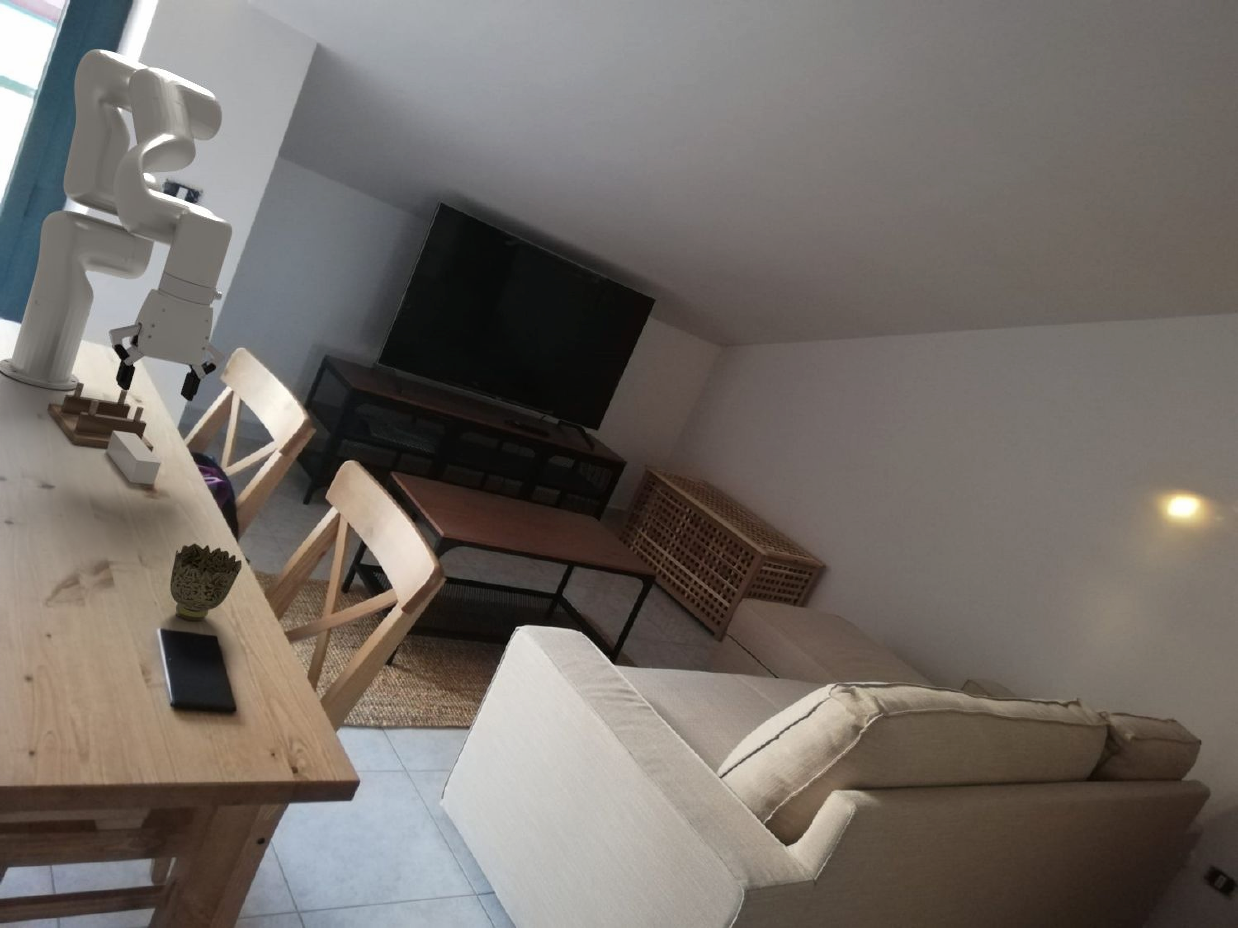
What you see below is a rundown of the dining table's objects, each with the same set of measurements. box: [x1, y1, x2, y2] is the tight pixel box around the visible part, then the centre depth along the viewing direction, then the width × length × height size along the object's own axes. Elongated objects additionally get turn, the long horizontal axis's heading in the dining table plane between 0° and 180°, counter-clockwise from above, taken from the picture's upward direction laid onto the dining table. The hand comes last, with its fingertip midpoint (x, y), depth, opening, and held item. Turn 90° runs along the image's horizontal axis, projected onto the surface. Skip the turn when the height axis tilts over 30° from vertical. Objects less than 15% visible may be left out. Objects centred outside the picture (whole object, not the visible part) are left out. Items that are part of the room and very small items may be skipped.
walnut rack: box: [47, 381, 154, 453], centre depth 147 cm, size 15×12×7 cm
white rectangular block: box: [105, 431, 161, 485], centre depth 138 cm, size 12×4×4 cm, turn 48°
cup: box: [169, 543, 243, 622], centre depth 104 cm, size 8×7×8 cm
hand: (155, 393), depth 136 cm, fingers open, 9 cm apart
